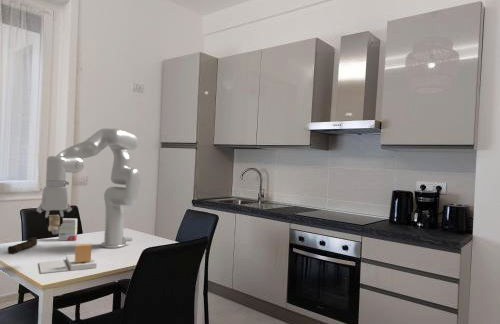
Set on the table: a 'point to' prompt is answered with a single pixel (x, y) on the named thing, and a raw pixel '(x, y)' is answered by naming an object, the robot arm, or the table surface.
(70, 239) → the ink box
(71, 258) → the switch housing
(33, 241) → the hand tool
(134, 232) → the table surface
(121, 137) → the robot arm
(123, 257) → the table surface
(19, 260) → the table surface
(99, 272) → the table surface
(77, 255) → the slide tab
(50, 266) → the tool mat
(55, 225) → the tan block on stem
